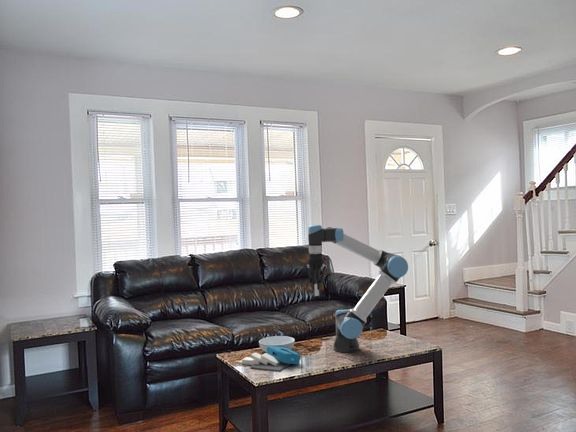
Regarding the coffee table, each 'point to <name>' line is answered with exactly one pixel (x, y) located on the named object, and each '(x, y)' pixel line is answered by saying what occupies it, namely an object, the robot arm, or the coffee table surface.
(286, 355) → the block
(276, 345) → the serving bowl
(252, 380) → the coffee table surface
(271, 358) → the domino
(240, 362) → the domino
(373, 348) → the coffee table surface
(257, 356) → the domino
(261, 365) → the domino mat
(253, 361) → the domino
